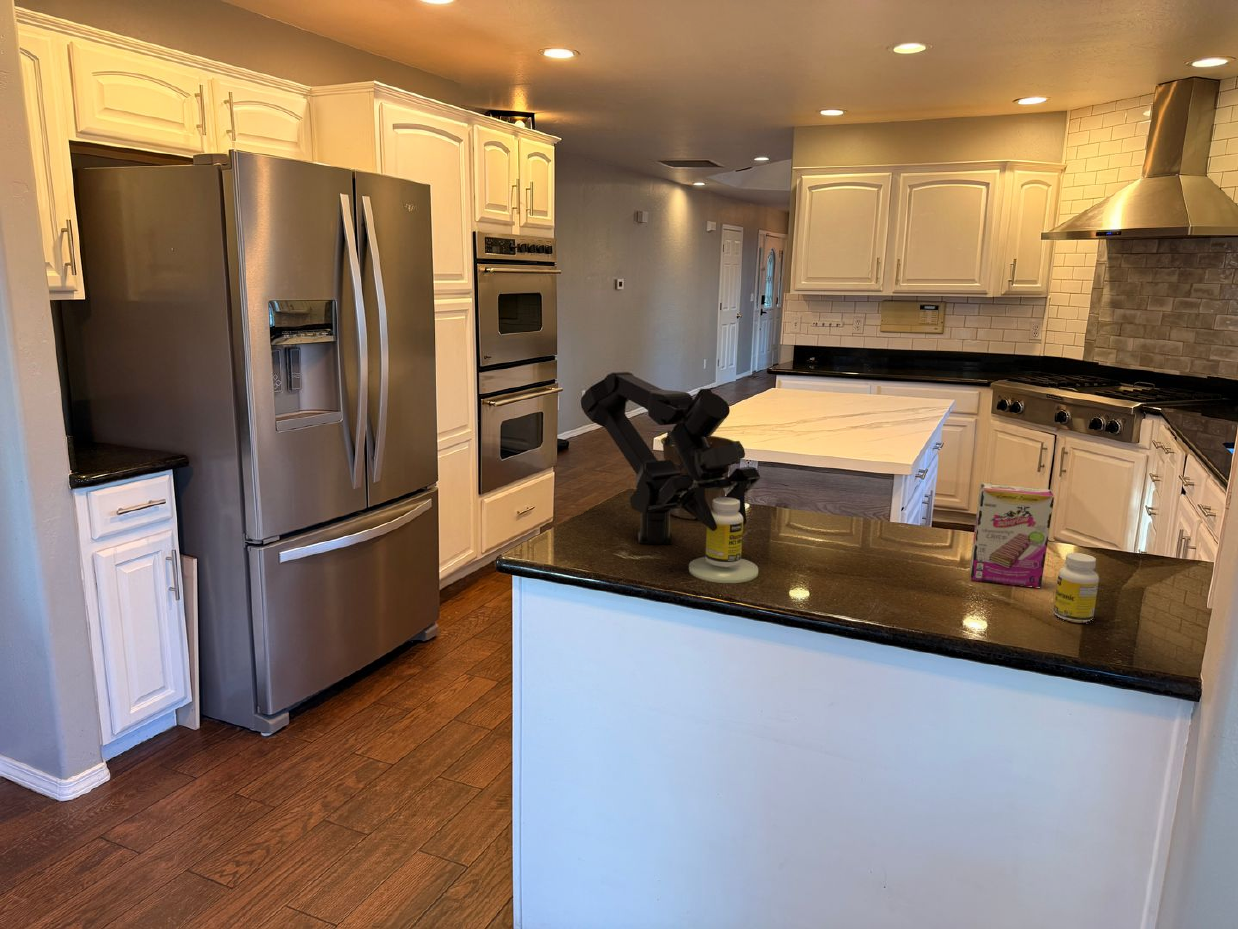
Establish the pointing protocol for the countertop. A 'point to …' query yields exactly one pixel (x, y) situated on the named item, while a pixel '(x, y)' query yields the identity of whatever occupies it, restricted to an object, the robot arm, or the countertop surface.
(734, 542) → the pill bottle
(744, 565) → the disc
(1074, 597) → the supplement bottle
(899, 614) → the countertop surface
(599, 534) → the countertop surface
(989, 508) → the candy bar box
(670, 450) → the plant pot
